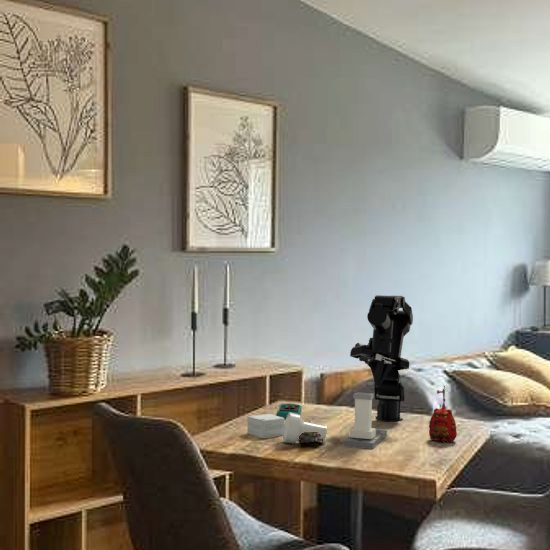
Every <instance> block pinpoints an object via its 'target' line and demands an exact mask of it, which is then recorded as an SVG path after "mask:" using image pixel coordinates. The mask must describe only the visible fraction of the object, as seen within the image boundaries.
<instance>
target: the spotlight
mask: <svg viewBox="0 0 550 550" xmlns="http://www.w3.org/2000/svg"><path fill="white" fill-rule="evenodd" d="M327 430H328V429H327V426H326V425H322V424H318V423H312V422H308V421H304V420H303V418H302V416H301V414H300V415H299V414H295V413H291V412H289V413H288V415H287V418H286V419H285V421H284V432H283V435H282V442H283V443H287V444H291V443H292V444H293V445H294V444H295V443H297V442H299V440H300V439H299V436H300V435H301V434H302V433H304V432H318V433H319V434H320V435H321V436H322V438H323V442H324V443H325V441H326V438H327V432H328V431H327Z"/></svg>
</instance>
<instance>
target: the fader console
mask: <svg viewBox="0 0 550 550" xmlns="http://www.w3.org/2000/svg"><path fill="white" fill-rule="evenodd" d="M387 433H388V430H387V429H380V428H379V429H377V428H376V436H375V437H374V438H373V439H363V438H352V437H350V434H349V435H348V436H347V437H346V438H345V439H344V440H343V447H348V448H349V447H351V448H359V449H371V450H373V449H375V448H376V446H377V445H378V444H380V443H381V442H382V441H383V440H384V439H386V437H387V435H388V434H387Z"/></svg>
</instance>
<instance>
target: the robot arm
mask: <svg viewBox="0 0 550 550" xmlns="http://www.w3.org/2000/svg"><path fill="white" fill-rule="evenodd" d="M401 309H402V310H401ZM366 316H367V320H368V322H369V324H370V326H371V327H372V329H373V331H372V337H370V338H369V339H368V344H363V343H361V342H360V343H359V342H356V344H355V345H354V346H353V347H352V348H351V350H350V354H349V356H350V357H351V358H354V359H358V360H359V361H360V362H364V364H366V365H367V366H368V367H369V368H370V370H371V373H372V379H373V382H374V389H373V390H374V400H375V401H378V404H377V406H376V407H377V408H376V410H377V411H376V416H375V419H378V420H380V421H384V422H395V421H404V418H402V417H401V402H406V394H405V387H404V383H403V382H402V378H401V375H400V373H399V371H403V370H409V369H410V361H409V360H408V359H407V358H404V357H401V355H402V349H403V343H404V338H405V336H406V335H407V334H408V333H410V331H411V325H413V321H414V318H413V317H414V315H413V309H412V307H411V306H410V304H408V303H407V302H406V298H405V296H403V295H380V294H378V295H375V296H374V298H372V300H371V303H370V306H369V309H368V312H367V315H366Z"/></svg>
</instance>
